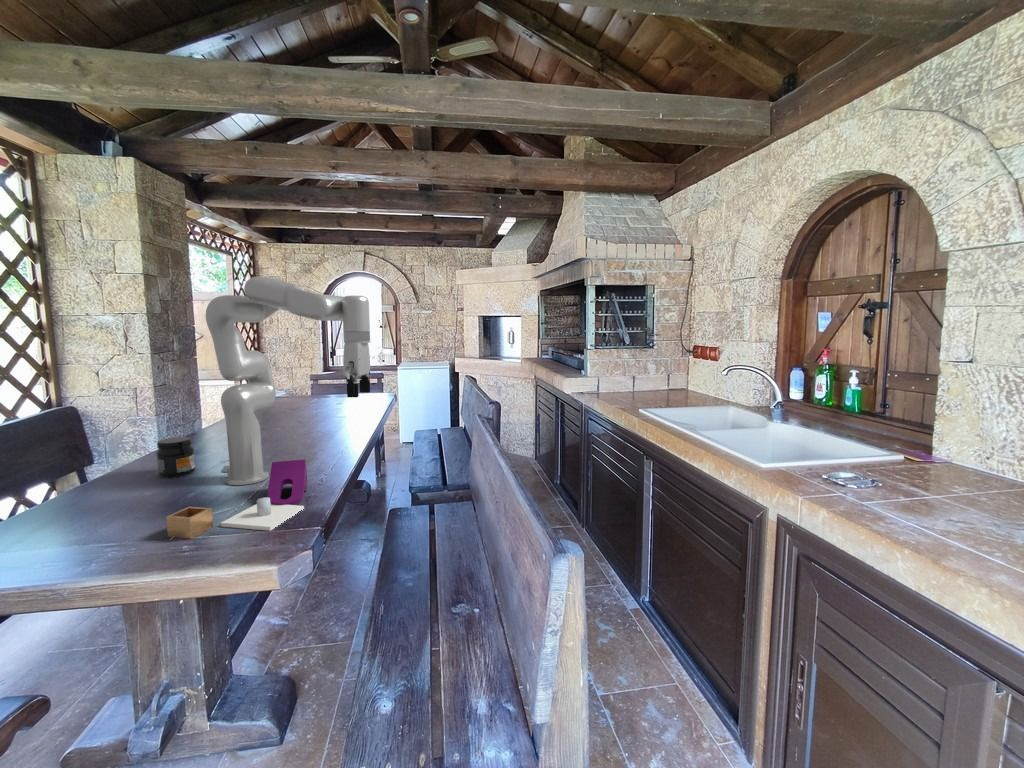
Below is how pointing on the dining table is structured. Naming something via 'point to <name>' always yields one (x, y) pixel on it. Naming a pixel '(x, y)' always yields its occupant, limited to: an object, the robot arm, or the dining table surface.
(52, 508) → the dining table surface
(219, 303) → the robot arm
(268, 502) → the flange
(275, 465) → the mounting bracket
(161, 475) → the supplement container
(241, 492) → the dining table surface
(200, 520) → the open wooden box
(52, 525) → the dining table surface
